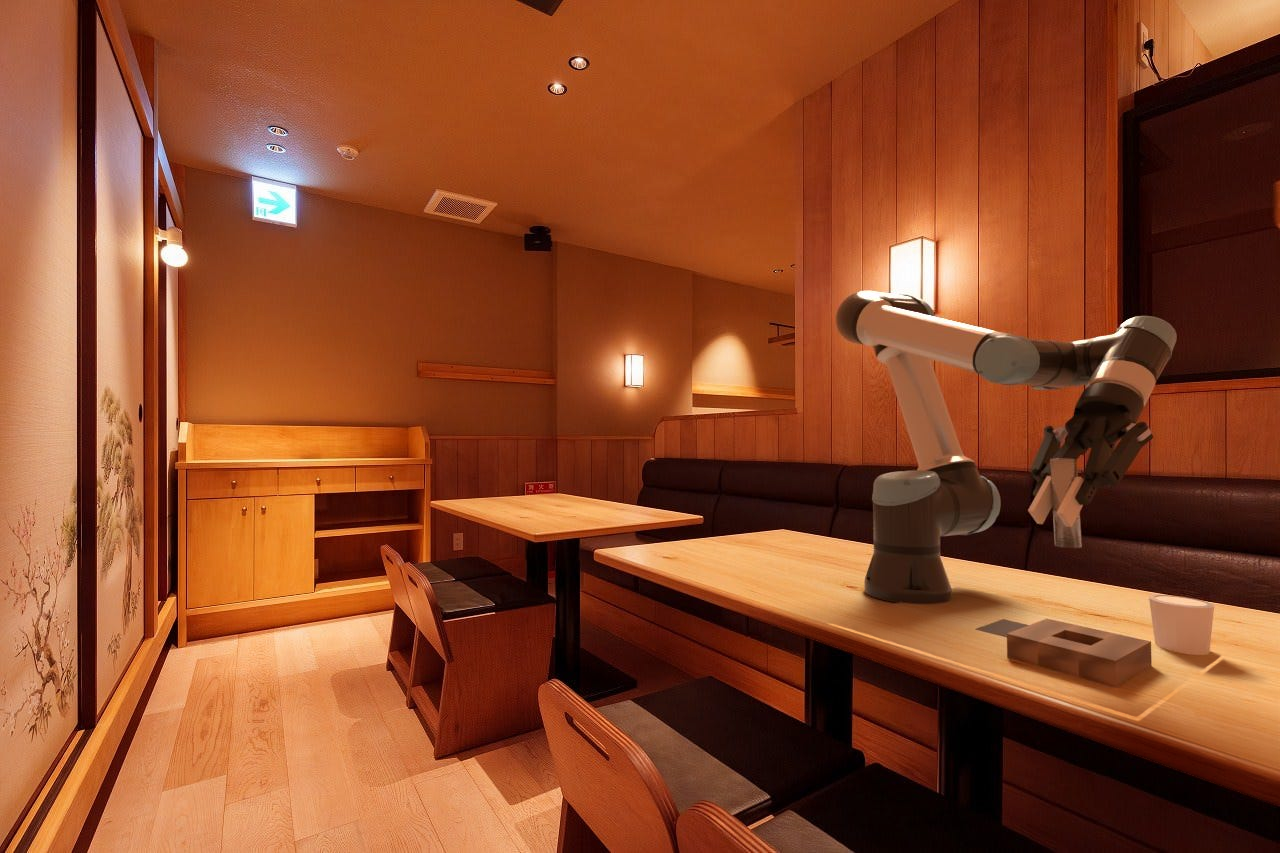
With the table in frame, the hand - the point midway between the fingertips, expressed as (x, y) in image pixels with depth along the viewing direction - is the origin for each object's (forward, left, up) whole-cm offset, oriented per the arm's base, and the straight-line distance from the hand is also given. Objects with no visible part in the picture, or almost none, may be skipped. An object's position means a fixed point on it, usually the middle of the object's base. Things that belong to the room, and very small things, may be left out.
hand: (1049, 518), depth 80 cm
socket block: (+2, +1, -19) cm, 19 cm away
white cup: (+8, +19, -19) cm, 29 cm away
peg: (+1, +4, -4) cm, 6 cm away
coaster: (-8, +8, -19) cm, 22 cm away
